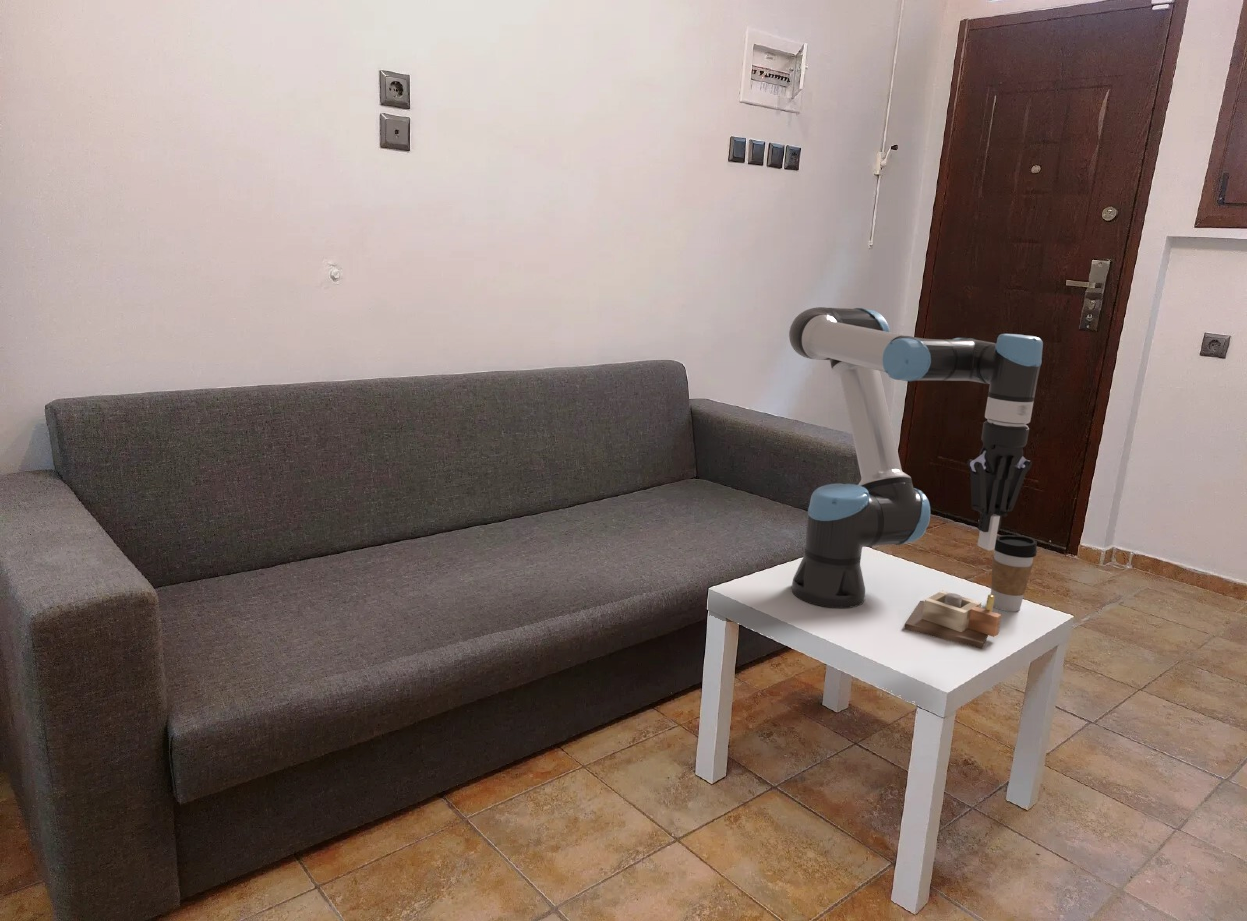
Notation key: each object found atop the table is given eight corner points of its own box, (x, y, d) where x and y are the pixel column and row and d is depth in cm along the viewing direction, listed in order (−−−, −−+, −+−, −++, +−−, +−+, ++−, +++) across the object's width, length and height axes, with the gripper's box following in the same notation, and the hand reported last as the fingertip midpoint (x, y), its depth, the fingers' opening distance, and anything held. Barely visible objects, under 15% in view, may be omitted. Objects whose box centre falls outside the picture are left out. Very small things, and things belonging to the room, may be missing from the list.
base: (903, 629, 168) (908, 598, 167) (919, 605, 180) (923, 577, 179) (982, 649, 161) (987, 617, 160) (993, 623, 174) (998, 593, 172)
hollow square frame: (921, 618, 170) (924, 599, 169) (939, 608, 176) (942, 590, 175) (987, 641, 162) (990, 621, 161) (1004, 629, 167) (1007, 610, 166)
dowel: (982, 628, 168) (987, 595, 166) (983, 626, 169) (988, 594, 167) (988, 630, 167) (994, 597, 165) (989, 628, 168) (995, 595, 166)
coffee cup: (1031, 616, 178) (1043, 547, 175) (987, 610, 180) (999, 542, 176) (1021, 601, 186) (1032, 535, 183) (980, 596, 188) (990, 530, 184)
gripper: (992, 427, 148) (971, 557, 153) (1051, 426, 152) (1028, 552, 158) (962, 418, 155) (943, 543, 160) (1019, 417, 159) (998, 539, 165)
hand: (985, 547), depth 159 cm, fingers closed
